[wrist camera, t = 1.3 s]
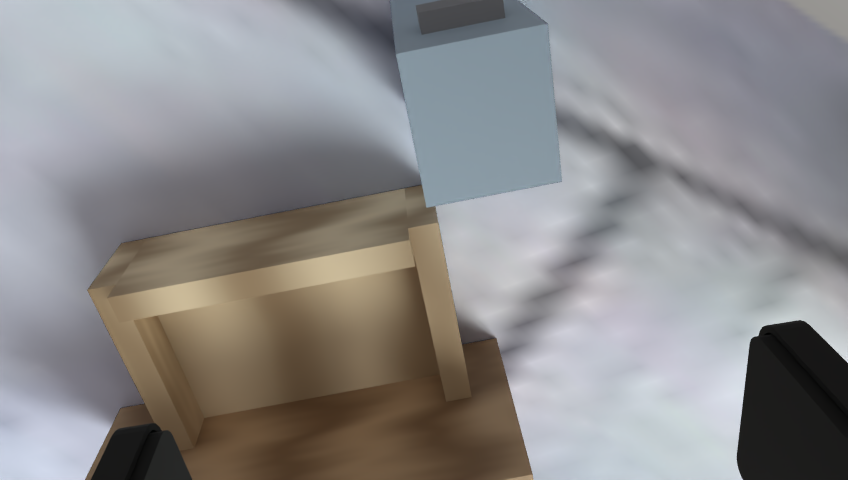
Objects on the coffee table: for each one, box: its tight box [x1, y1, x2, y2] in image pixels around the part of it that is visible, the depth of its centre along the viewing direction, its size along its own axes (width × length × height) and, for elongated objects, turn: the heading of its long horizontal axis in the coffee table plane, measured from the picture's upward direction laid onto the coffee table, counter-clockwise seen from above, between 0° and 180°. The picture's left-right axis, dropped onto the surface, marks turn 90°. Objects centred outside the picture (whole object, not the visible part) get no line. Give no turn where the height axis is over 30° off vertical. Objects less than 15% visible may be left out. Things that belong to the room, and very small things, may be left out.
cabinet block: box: [390, 0, 562, 208], centre depth 22 cm, size 4×5×10 cm
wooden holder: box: [85, 185, 533, 480], centre depth 29 cm, size 20×11×9 cm, turn 100°
